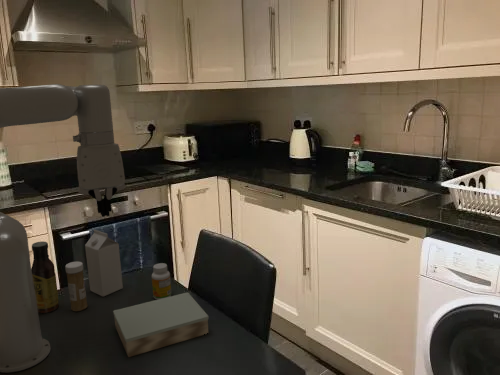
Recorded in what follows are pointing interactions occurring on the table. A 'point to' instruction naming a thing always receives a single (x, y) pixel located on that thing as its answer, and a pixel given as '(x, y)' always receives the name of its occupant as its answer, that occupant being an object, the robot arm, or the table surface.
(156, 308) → the panel
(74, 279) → the sprinkles bottle
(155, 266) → the supplement bottle
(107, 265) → the milk carton
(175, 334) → the brown wooden tray
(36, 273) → the sauce bottle
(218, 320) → the table surface
